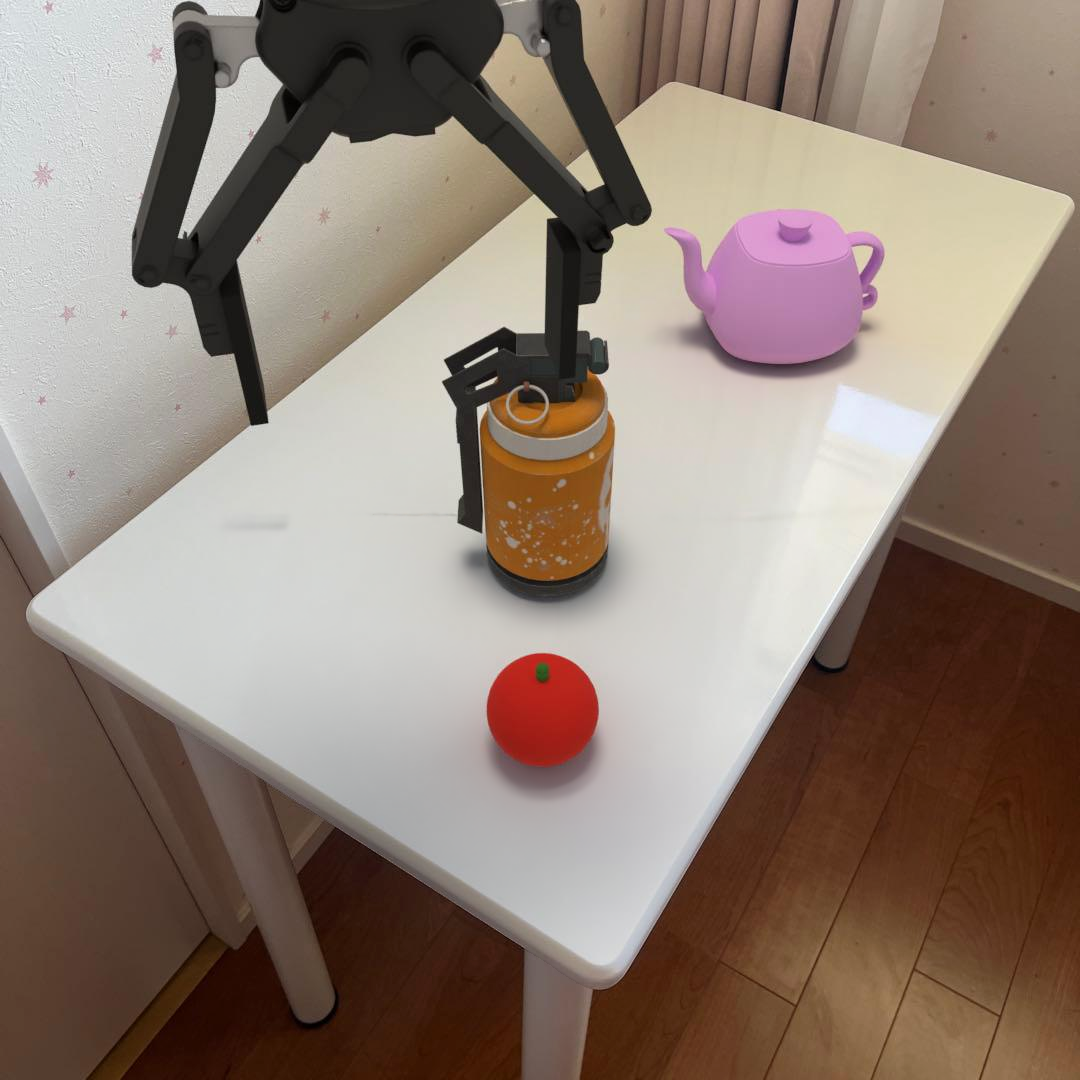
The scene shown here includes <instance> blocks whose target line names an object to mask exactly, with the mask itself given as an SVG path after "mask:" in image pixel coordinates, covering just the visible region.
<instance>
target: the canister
mask: <svg viewBox="0 0 1080 1080" xmlns="http://www.w3.org/2000/svg"><path fill="white" fill-rule="evenodd" d="M544 338H545V332H520V333H519V332H515V331H513V330H511V329H509V328H508V327H506V326H503V327H500V328H499V329H497V330H496V331H494V332H492V333H489V334H488V335H486V336H484V337H483V338H481V339H479V340H477V341H475V342H473V343H472V344H469V345H468V346H466V347H464V348H462V349H460V350H458V351H457V352H455V353H453V354H451V355H450V356H447V357H445V358H444V359H443V362H444V364H445V365H446V367H447V369H448V371H449V373H450V376H449V377H447V378H445V379H444V380H442V381H441V383H442V385H443V387H444V390H445V391H446V392H447V394H448V396H449V397H450V400H451V401H452V403H453V405H454V406H455V408H456V411H455V429H456V430H455V431H456V433H455V434H456V443H457V444H459V456H460V457H459V458H460V469H461V482H462V495H461V496H460V498H459V499H458V501H457V502H458V503H457V505H458V506H457V518H456V521H457V522H456V523H457V524H458V525H460V526H463V527H465V528H467V529H470V530H472V531H475V532H477V533H479V534H483V525H484V527H485V543H486V544H485V545H486V546H485V547H486V558H487V559H486V560H487V561H488V566H489V567H490V569H491V571H492V572H493V574H494V575H495V576H496V577H497V579H499V581H501V582H502V583H503V584H505V585H506V586H508V587H510V588H511V589H513V590H515V591H518V592H520V593H523V594H526V595H531V596H537V597H558V596H559V597H560V596H565V595H569V594H571V593H574V592H578V591H579V590H581V589H584V588H585V587H587V586H588V585H590V584H591V583H593V581H595V580H596V579H597V578H598V577H599V576H600V575H601V573H602V572H603V570H604V568H605V566H606V564H607V561H608V556H609V541H610V540H609V539H610V523H611V507H612V491H613V490H612V489H613V488H612V487H613V475H614V473H613V471H614V456H615V441H616V425H615V420H614V417H613V416H612V414H611V412H610V410H609V409H608V408H609V397H608V393H607V390H606V388H605V386H604V385H603V383H602V381H601V380H600V379H599V377H598V375H603V374H605V373H606V372H607V371H608V370H609V369H610V361H609V360H610V359H609V347H608V340H607V339H605V340H603V338H601V337H598V336H597V337H592V338H591V332H590V331H588V330H578V333H577V354H576V376H575V378H568V379H561V380H559V378H558V376H557V373H556V371H555V368H554V366H553V363H552V361H551V359H550V356H549V354H548V351H547V349H546V347H545V344H544ZM495 349H497V351H496V352H494V353H491V355H488V356H487V357H484V358H482V359H481V360H479V361H477V362H475V363H474V364H471V365H469V366H467V367H465V366H466V365H468V364H470V363H472V362H473V361H476V360H477V359H479V358H481V357H483V356H484V355H486V354H488V353H489V352H491V351H493V350H495ZM494 379H495V380H494ZM491 380H494V381H493V383H491V384H487V385H486V386H483V387H481V388H479V389H477V387H478V386H480V385H482V384H485V383H487V382H489V381H491ZM483 405H486V411H485V412H484V413H483V415H482V417H481V420H480V424H479V419H478V408H479V407H481V406H483ZM483 523H484V524H483Z"/></svg>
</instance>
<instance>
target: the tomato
mask: <svg viewBox="0 0 1080 1080" xmlns="http://www.w3.org/2000/svg"><path fill="white" fill-rule="evenodd" d="M599 705H600V704H599V698H598V693H597V690H596V688H595V685H594V683H593V682H592V681H591V678H590V677H589V676H588V674H587V673H586V672H585V671H584V670H583V669H582V668H581V667H580V666H579V665H578V664H576V663H575V662H574V661H572V660H570V658H569V659H568V658H566V657H565V656H561V655H559V654H555V653H550V652H537V653H530V654H527V655H523V656H520V657H519V658H517V659H515V660H513V661H512V662H510V663H508V664H507V665H506V666H505V667H504V668H503V669H502V670H501V671H500V672H499V673H498V675H497V676H496V677H495V679H494V681H493V683H492V685H491V686H490V689H489V692H488V696H487V701H486V719H487V725H488V729H489V731H490V733H491V735H492V738H493V739H494V741H495V742H496V744H497V745H498V746H499V747H500V749H501V750H502V751H503V752H504V753H505V754H507V755H508V756H509V757H510V758H512V759H514V760H516V762H520V763H521V764H525V765H527V766H532V767H539V768H543V767H544V768H546V767H547V768H548V767H553V766H558V765H561V764H563V763H566V762H568V761H570V760H572V759H573V758H575V757H576V756H578V755H579V754H580V753H581V752H583V750H584V749H585V748H586V747H587V745H588V744H589V743H590V742H591V739H593V736H594V734H595V731H596V729H597V726H598V721H599V717H600V716H599V714H600V707H599Z"/></svg>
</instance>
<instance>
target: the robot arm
mask: <svg viewBox="0 0 1080 1080" xmlns="http://www.w3.org/2000/svg"><path fill="white" fill-rule="evenodd" d="M171 17H172V18H171V20H172V38H173V51H174V52H173V53H174V60H175V69H176V73H175V76H174V79H173V84H172V88H171V91H170V95H169V98H168V102H167V105H166V110H165V112H164V113H165V114H164V118H163V120H162V123H161V128H160V131H159V135H158V140H157V142H156V146H155V149H154V153H153V157H152V161H151V164H150V168H149V171H148V175H147V178H146V179H147V180H146V182H145V186H144V190H143V193H142V198H141V200H140V204H139V208H138V212H137V215H136V218H135V223H134V226H133V229H132V234H131V276H132V278H133V280H134V282H135V283H136V284H138V285H139V286H141V287H143V288H149V289H153V288H157V287H160V286H161V285H162V284H167V285H174V286H176V287H179V288H181V289H183V290H184V291H185V292H186V293H187V295H188V296H189V298H190V302H191V305H192V309H193V313H194V317H195V321H196V325H197V328H198V332H199V336H200V339H201V343H202V347H203V349H204V350H205V352H206V353H207V354H208V355H209V356H210V357H211V358H213V357H219V356H226V355H227V356H228V355H233V356H234V360H235V364H236V369H237V373H238V377H239V381H240V385H241V391H242V394H243V399H244V403H245V406H246V411H247V415H248V420H249V424H250V426H251V427H255V426H261V425H267V424H270V421H269V414H268V408H267V399H266V392H265V391H266V390H265V384H264V380H263V373H262V370H261V365H260V361H259V356H258V351H257V346H256V343H255V338H254V334H253V329H252V325H251V324H252V323H251V319H250V315H249V310H248V305H247V301H246V296H245V292H244V291H245V290H244V287H243V282H242V278H241V274H240V273H241V272H240V268H239V263H238V259H239V258H240V257H241V255H242V254H243V252H244V250H245V249H246V248H247V247H248V245H249V243H250V242H251V240H252V239H253V237H254V236H255V235H256V233H257V232H258V230H259V229H260V227H261V226H262V224H263V223H264V222H265V220H266V218H268V216H269V214H270V213H271V212H272V210H273V209H274V207H275V205H276V204H277V203H278V202H279V200H280V198H282V196H283V194H284V193H285V192H286V190H287V188H288V187H289V185H290V184H291V182H292V181H293V180H294V178H295V177H296V176H297V174H298V172H299V171H300V170H301V168H302V167H303V166H304V165H307V164H310V163H311V162H312V161H313V160H314V159H315V157H316V156H317V154H318V153H319V151H320V150H321V149H322V147H323V145H324V144H325V143H326V141H327V140H328V139H329V137H330V135H331V134H332V133H333V134H335V135H338V136H340V137H344V138H348V139H349V140H348V141H349V143H350V144H359V143H367V142H373V141H375V140H378V139H382V138H384V137H388V136H390V135H393V134H395V135H401V136H407V137H408V136H409V137H414V138H415V137H424V136H434V135H436V129H437V128H440V127H441V126H443V125H444V124H446V123H447V122H448V121H449V120H451V119H452V118H454V119H455V120H456V121H457V122H458V123H459V124H460V125H461V126H462V127H463V129H465V131H467V132H468V133H469V134H470V135H471V136H472V137H473V138H474V139H475V140H476V141H477V142H478V143H479V144H481V145H484V146H486V147H487V148H488V149H489V151H491V152H492V154H494V155H495V156H496V157H497V158H498V160H500V161H501V163H503V165H504V166H506V168H507V169H508V170H509V171H511V172H512V173H513V174H514V176H516V178H517V179H518V180H520V181H521V183H522V184H524V185H525V186H526V188H528V189H529V190H530V192H532V194H534V195H535V196H536V197H537V198H538V200H540V201H541V203H543V205H544V206H546V207H547V208H548V209H549V210H550V212H551V213H552V214H554V216H555V217H550V218H546V241H545V242H546V244H545V245H546V246H545V293H544V295H545V296H544V298H545V299H544V333H545V338H544V344H545V347H546V349H547V351H548V354H549V356H550V359H551V361H552V363H553V366H554V368H555V371H556V373H557V376H558V378H559V380H561V379H568V378H575V376H576V354H577V333H578V331H579V330H578V329H579V312H580V311H579V310H580V308H579V307H580V306H584V305H591V304H596V303H597V301H598V299H599V297H600V294H601V292H602V278H603V277H602V276H603V261H604V255H606V253H608V252H609V251H610V250H611V249H612V248H613V245H614V243H615V239H614V235H613V233H612V232H613V231H614V230H616V229H617V228H620V227H622V226H624V225H628V226H631V227H639V226H641V225H644V224H645V223H646V222H648V220H649V219H650V217H651V216H652V213H653V208H652V204H651V202H650V199H649V197H648V196H647V195H648V194H647V193H646V190H645V189H644V187H643V184H642V182H641V180H640V179H639V176H638V174H637V171H636V169H635V167H634V165H633V162H632V161H631V158H630V156H629V154H628V152H627V150H626V148H625V146H624V144H623V141H622V138H621V137H620V134H619V132H618V130H617V127H616V125H615V123H614V121H613V120H612V119H613V118H612V116H611V115H610V113H609V110H608V108H607V106H606V104H605V102H604V100H603V97H602V95H601V93H600V91H599V89H598V87H597V84H596V82H595V79H594V78H593V76H592V73H591V72H590V69H589V67H588V65H587V63H586V61H585V52H584V51H585V50H584V37H583V23H582V22H583V21H582V11H581V7H580V4H579V3H578V1H577V0H259V4H258V7H257V9H256V11H255V14H254V16H253V15H251V16H250V15H217V14H208V12H207V10H206V9H205V8H204V6H202V5H201V4H199V3H198V2H195V1H192V0H187V1H182V2H180V3H178V4H177V5H176V6H175V7H174V9H173V11H172V16H171ZM508 34H509V35H513V36H515V37H517V38H518V41H519V43H520V44H521V46H522V47H523V50H524V51H525V53H527V55H529V56H531V57H533V58H542V60H543V62H544V64H545V66H546V68H547V71H548V72H549V74H550V76H551V78H552V80H553V83H554V84H555V87H556V89H557V91H558V92H559V95H560V97H561V99H562V101H563V103H564V104H565V105H564V106H565V107H566V109H567V111H568V113H569V115H570V118H571V119H572V121H573V123H574V126H575V127H576V129H577V131H578V133H579V135H580V137H581V140H582V141H583V144H584V145H585V148H586V150H587V151H588V154H589V156H590V158H591V160H592V162H593V164H594V166H595V168H596V170H597V172H598V174H599V177H600V178H601V180H602V181H603V184H601V185H599V186H597V187H595V188H592V189H591V190H587V189H586V187H584V185H583V184H582V183H581V182H580V181H579V180H578V179H577V178H576V177H575V176H574V175H573V174H572V173H571V171H570V170H568V168H567V167H566V166H565V165H564V164H563V163H562V162H561V161H560V160H559V159H558V158H557V157H556V155H554V154H553V152H552V151H551V150H550V149H549V148H548V147H547V146H546V145H545V144H544V143H543V142H542V140H540V138H539V137H538V136H537V135H536V134H535V133H534V132H533V131H532V130H531V129H530V128H529V127H528V126H527V124H525V123H524V122H523V120H521V119H520V117H519V116H518V115H517V114H516V113H515V112H514V110H512V109H511V108H510V107H509V106H508V105H507V103H505V101H503V99H501V98H500V97H499V95H498V94H497V93H496V92H495V90H493V88H492V87H491V85H490V83H489V82H488V81H487V80H486V79H485V78H484V77H483V75H481V74H482V72H483V71H484V69H485V68H486V66H487V65H488V63H489V61H490V60H491V58H492V57H493V56H494V54H495V52H496V51H497V49H498V47H499V46H500V44H501V42H502V40H503V37H504V35H508ZM253 58H254V59H255V58H259V60H260V61H261V63H262V64H263V65H264V66H265V68H267V70H268V71H269V72H270V73H271V74H272V75H273V76H274V77H275V78H276V79H277V80H278V81H279V82H280V83H281V84H282V85H281V86H280V89H278V91H277V92H276V94H275V96H274V98H273V99H272V102H271V104H270V106H269V110H268V113H267V116H266V117H265V119H264V120H263V122H262V123H261V125H260V126H259V128H258V129H257V131H256V133H255V134H254V136H253V137H252V139H251V140H250V141H249V143H248V145H247V146H246V147H245V149H244V151H243V153H242V154H241V156H240V157H239V158H238V160H237V162H236V163H235V164H234V166H233V168H232V169H231V171H230V172H229V174H227V177H226V178H225V179H224V181H223V182H222V184H221V186H220V188H219V189H218V190H217V191H216V194H215V195H214V196H213V198H212V200H211V201H210V203H209V204H208V206H207V207H206V209H205V210H204V211H203V213H202V215H201V216H200V218H199V219H198V221H197V222H196V223H195V225H194V227H193V228H192V229H191V231H190V233H189V234H188V231H186V230H184V231H183V233H182V237H181V238H180V237H179V235H180V231H181V229H182V225H183V222H184V219H185V215H186V213H187V208H188V205H189V202H190V199H191V195H192V193H193V190H194V189H193V188H194V186H195V182H196V179H197V175H198V172H199V169H200V166H201V161H202V159H203V155H204V153H205V149H206V146H207V143H208V140H209V137H210V132H211V129H212V126H213V122H214V117H215V114H216V106H217V105H216V104H217V89H227V88H229V87H231V86H233V85H234V84H235V83H236V82H237V80H238V79H239V75H240V71H241V68H242V66H243V64H244V63H245V62H246V61H248V60H249V59H253Z"/></svg>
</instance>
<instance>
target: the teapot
mask: <svg viewBox="0 0 1080 1080" xmlns="http://www.w3.org/2000/svg"><path fill="white" fill-rule="evenodd" d="M663 232H664V233H666V234H667V235H668V236H669V237H671V238H672V239H673V240H674V241H676V242H677V243H678V245H679V247H680V248H681V251H682V256H683V283H684V288H685V292H686V294H687V296H688V298H689V301H690V302H691V303H692V304H693V305H694V306H695V308H697V309H698V310H700V311H701V312H702V313H703V316H704V318H705V320H706V324H707V325H708V327H709V328H710V330H711V332H712V334H713V336H714V337H715V339H716V341H718V343H719V345H720V346H721V347H722V349H724V351H726V353H728V354H730V355H731V356H733V357H735V358H737V359H740V360H742V361H743V360H744V361H748V362H753V363H760V364H771V365H792V364H793V365H794V364H802V363H807V362H812V361H816V360H819V359H823V358H827V357H829V356H831V355H833V354H835V353H837V352H839V351H840V350H842V349H843V348H844V347H846V346H847V345H848V344H850V342H851V341H852V340H853V339H854V338H855V337H856V336H857V334H858V332H859V330H860V328H861V322H862V318H863V311H867V310H869V309H872V307H874V306H875V305H876V303H877V301H878V297H879V293H878V290H877V288H876V287H875V286H874V285H872V282H873V280H874V279H875V277H876V276H877V274H878V273H879V271H880V269H881V267H882V266H883V263H884V260H885V255H886V253H885V247H884V244H883V242H882V241H881V240H880V238H879V237H877V236H876V234H873V233H870V232H868V231H864V230H856V231H851V232H848V233H845V231H844V229H843V227H842V226H841V225H840V224H839V222H838V221H837V220H836V219H835V218H834V217H832V216H831V215H829V214H827V213H824V212H821V211H816V210H811V209H795V208H783V209H771V210H764V211H758V212H754V213H751V214H748V215H745V216H743V217H741V218H740V219H738V220H737V221H736V222H735V223H734V224H733V226H731V228H730V229H729V230H728V232H727V233H726V234H725V236H724V237H723V239H722V240H721V241H720V243H719V244H718V246H717V247H716V249H715V250H714V252H713V254H712V256H711V258H710V260H709V262H708V265H707V268H706V270H704V267H703V261H702V260H703V259H702V258H703V257H702V248H701V243H700V241H699V239H698V238H697V237H696V235H694V234H693V233H692V232H690V231H688V230H685V229H683V228H679V227H664V228H663ZM861 246H864V247H865V246H866V247H870V248H872V253H871V254H870V257H869V260H868V262H866V265H865V266H864V268H863V269H862V271H861V272H860V271H859V268H858V265H857V261H856V258H855V254H854V250H853V248H855V247H861ZM864 295H865V296H864Z"/></svg>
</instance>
